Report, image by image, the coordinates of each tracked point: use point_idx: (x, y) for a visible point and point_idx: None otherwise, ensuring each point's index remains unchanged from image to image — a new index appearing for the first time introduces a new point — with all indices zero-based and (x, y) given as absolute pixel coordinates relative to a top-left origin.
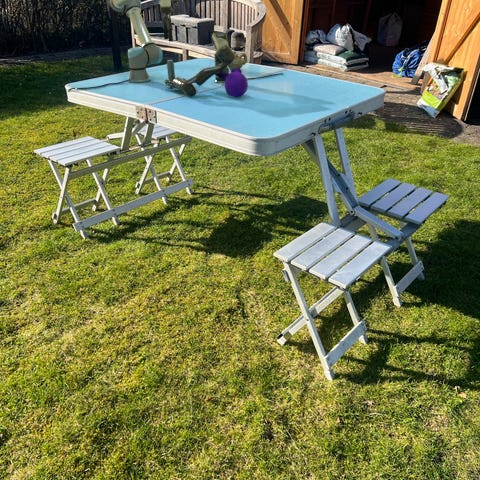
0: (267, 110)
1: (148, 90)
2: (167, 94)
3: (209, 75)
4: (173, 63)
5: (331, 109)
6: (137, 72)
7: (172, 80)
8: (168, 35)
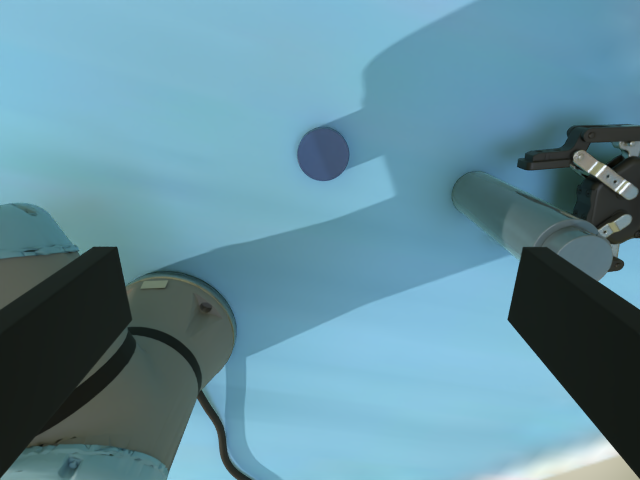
0: None
1: (462, 328)
2: (629, 262)
3: None
4: (592, 225)
5: None
6: (206, 376)
7: (610, 232)
8: (593, 405)
